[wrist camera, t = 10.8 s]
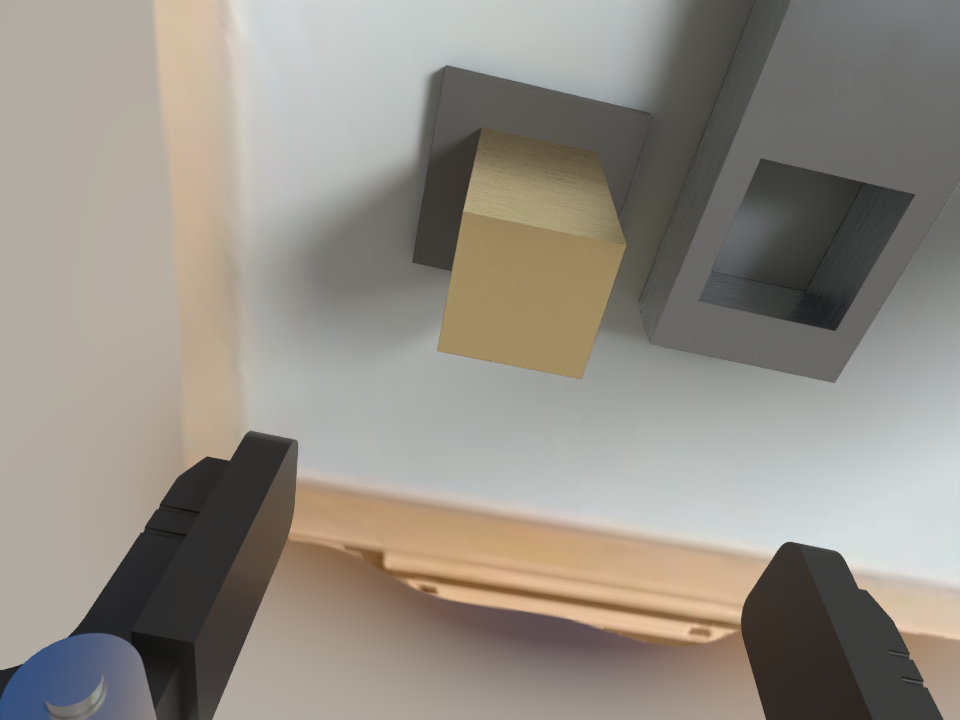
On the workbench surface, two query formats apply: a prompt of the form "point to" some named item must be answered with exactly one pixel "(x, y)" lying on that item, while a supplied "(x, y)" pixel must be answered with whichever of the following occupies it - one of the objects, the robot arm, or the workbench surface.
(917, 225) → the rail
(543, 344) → the tan wooden beam
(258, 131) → the workbench surface
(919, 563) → the workbench surface
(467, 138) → the pad
